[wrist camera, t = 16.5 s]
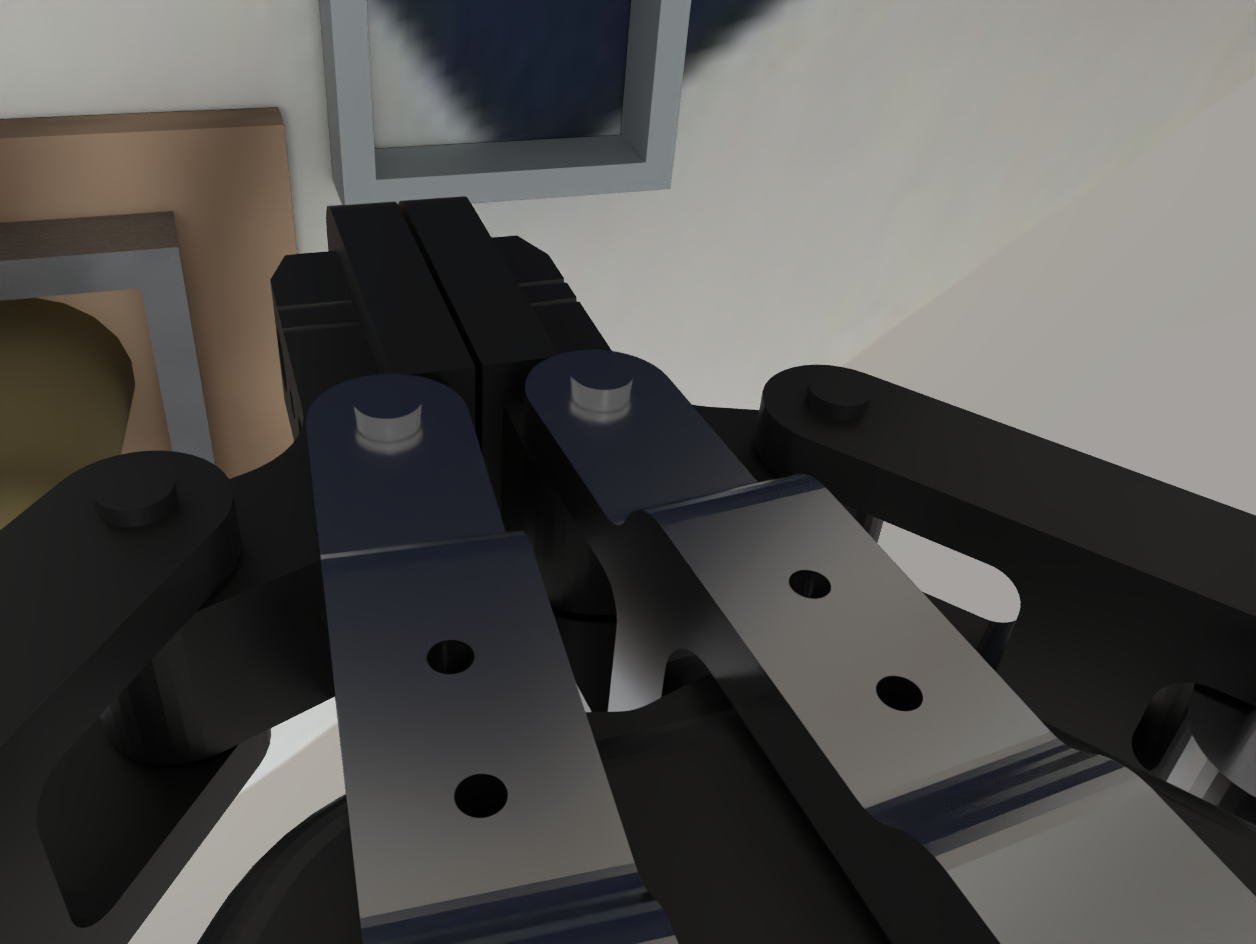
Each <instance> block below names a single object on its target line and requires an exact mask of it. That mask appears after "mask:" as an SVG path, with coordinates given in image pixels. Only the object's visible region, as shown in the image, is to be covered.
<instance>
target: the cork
mask: <svg viewBox="0 0 1256 944" xmlns="http://www.w3.org/2000/svg"><path fill="white" fill-rule="evenodd" d="M134 390H135V379H134V373H133V367H132V361H131V359H130V357H129V356H128V354H127V352H126V351H125V349H124V347H123V345H122V344H121V342H120V340H119V339H118V337H117V336H116V335H115V334H113V333H112V332H111V331H110V330H109V329H108V328H106V327H105V326H104V325H103V324H102V323H101V322H99V321H98V320H97V319H96V318H95V317H93V316H91V315H89V314H86V313H84V312H82V311H80V310H78V309H76V308H74V307H71V306H69V305H67V304H65V303H60V302H55V301H50V300H44V299H39V298H25V299H14V300H3V301H0V530H1V529H2V528H4V527H5V526H6V525H7V524H9V523H10V522H11V521H12V520H13V519H15V518H16V517H17V516H18V515H20V514H21V513H22V512H23V511H25V510H26V509H27V508H28V507H30V506H31V505H32V504H33V503H34V502H36V501H37V500H38V499H39V498H41V497H42V496H43V495H44V494H46V493H47V492H48V491H49V490H51V489H52V488H53V487H54V486H55V485H57V484H58V483H59V482H60V481H62V480H63V479H65V478H66V477H68V476H69V475H70V474H72V473H74V472H75V471H77V470H79V469H81V468H83V467H85V466H87V465H90V464H92V463H94V462H97V461H99V460H102V459H106V458H109V457H113V456H116V455H121V453H122V448H123V443H124V438H125V433H126V428H127V424H128V419H129V414H130V409H131V404H132V399H133V394H134Z"/></svg>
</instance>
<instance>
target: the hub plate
mask: <svg viewBox="0 0 1256 944" xmlns="http://www.w3.org/2000/svg"><path fill="white" fill-rule="evenodd" d="M165 211H174V217H175V223H176V229H177V235H178V241H179V247H180V253H181V259H182V265H183V271H184V277H185V283H186V289H187V295H188V301H189V307H190V313H191V319H192V325H193V330H194V336H195V342H196V348H197V354H198V360H199V366H200V372H201V378H202V384H203V390H204V396H205V402H206V408H207V414H208V420H209V426H210V432H211V438H212V444H213V450H214V456H215V462H216V466H217V467H218V468H220V469H221V470H222V471H223V472H224V473H225V474H226V476H227V477H228V478H229V479H230V478H233V477H236V476H239V475H242V474H244V473H247V472H249V471H252V470H254V469H256V468H259V467H261V466H263V465H265V464H266V463H268V462H270V461H272V460H273V459H275V458H276V457H278V456H279V455H281V454H282V453H283V452H284V451H285V450H286V449H288V448H289V447H290V446H291V445H292V444H293V442H294V439H293V435H292V429H291V426H290V422H289V418H288V413H287V409H286V405H285V400H284V392H283V384H282V375H281V367H280V359H279V350H278V342H277V333H276V325H275V316H274V308H273V300H272V291H271V283H270V279H271V278H272V276H273V274H274V273H275V271H276V269H277V268H278V266H279V264H280V263H281V261H282V259H283V258H284V256H285V255H292V254H297V249H296V239H295V229H294V220H293V210H292V200H291V190H290V180H289V170H288V160H287V150H286V140H285V130H284V124H283V121H282V118H281V115H280V112H279V109H278V107H276V108H253V109H229V110H206V111H183V112H159V113H136V114H112V115H89V116H66V117H42V118H19V119H0V223H5V222H20V221H34V220H49V219H63V218H78V217H92V216H107V215H121V214H136V213H150V212H165ZM36 298H39V299H44V300H50V301H55V302H60V303H65V304H67V305H69V306H71V307H74V308H76V309H78V310H80V311H82V312H84V313H86V314H89V315H91V316H93V317H95V318H96V319H97V320H98V321H99V322H101V323H102V324H103V325H104V326H105V327H106V328H108V329H109V330H110V331H111V332H112V333H113V334H115V335H116V336H117V337H118V339H119V340H120V342H121V344H122V345H123V347H124V349H125V351H126V352H127V354H128V356H129V357H130V359H131V361H132V367H133V373H134V379H135V390H134V394H133V399H132V404H131V409H130V414H129V419H128V424H127V428H126V433H125V438H124V443H123V448H122V453H121V454H126V453H131V452H140V451H172V446H171V441H170V436H169V431H168V426H167V421H166V415H165V410H164V405H163V400H162V395H161V390H160V385H159V379H158V374H157V369H156V364H155V359H154V354H153V348H152V343H151V338H150V333H149V328H148V323H147V318H146V312H145V307H144V302H143V297H142V292H141V288H138V289H126V290H115V291H104V292H93V293H81V294H70V295H59V296H48V297H36Z"/></svg>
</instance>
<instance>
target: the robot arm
mask: <svg viewBox="0 0 1256 944" xmlns="http://www.w3.org/2000/svg"><path fill="white" fill-rule="evenodd" d="M326 223H327V238H328V250H329V251H328V252H316V253H304V254H292V255H285V256H284V258H283V259H282V261H281V263H280V264H279V266H278V268H277V269H276V271H275V273H274V274H273V276H272V278H271V279H270V283H271V291H272V300H273V308H274V316H275V325H276V333H277V342H278V350H279V359H280V367H281V375H282V384H283V392H284V400H285V405H286V409H287V413H288V418H289V422H290V426H291V429H292V435H293V439H294V442H293V444H292V445H291V446H290V447H289V448H288V449H286V450H285V451H284V452H283V453H282V454H281V455H279V456H278V457H276V458H275V459H273V460H272V461H270V462H268V463H266V464H265V465H263V466H261V467H259V468H256V469H254V470H252V471H249V472H247V473H244V474H242V475H239V476H236V477H233V478H230V479H229V478H228V477H227V476H226V474H225V473H224V472H223V471H222V470H221V469H220V468H218V467H217V466H216V465H215V464H213V463H211V462H209V461H207V460H205V459H203V458H200V457H197V456H194V455H191V454H186V453H181V452H174V451H140V452H131V453H126V454H121V455H116V456H113V457H109V458H106V459H102V460H99V461H97V462H94V463H92V464H90V465H87V466H85V467H83V468H81V469H79V470H77V471H75V472H74V473H72V474H70V475H69V476H68V477H66V478H65V479H63V480H62V481H60V482H59V483H58V484H57V485H55V486H54V487H53V488H52V489H51V490H49V491H48V492H47V493H46V494H44V495H43V496H42V497H41V498H39V499H38V500H37V501H36V502H34V503H33V504H32V505H31V506H30V507H28V508H27V509H26V510H25V511H23V512H22V513H21V514H20V515H18V516H17V517H16V518H15V519H13V520H12V521H11V522H10V523H9V524H7V525H6V526H5V527H4V528H2V529H1V530H0V944H128V942H129V941H130V939H131V938H132V936H133V935H134V934H135V933H136V931H137V930H138V929H139V927H140V926H141V925H142V923H143V922H144V921H145V919H146V918H147V916H148V915H149V914H150V912H151V911H152V910H153V908H154V907H155V906H156V904H157V903H158V902H159V900H160V899H161V898H162V896H163V895H164V893H165V892H166V891H167V889H168V888H169V887H170V885H171V884H172V883H173V881H174V880H175V878H176V877H177V876H178V875H179V873H180V872H181V870H182V869H183V868H184V866H185V865H186V863H187V862H188V861H189V860H190V858H191V857H192V855H193V854H194V853H195V851H196V850H197V849H198V847H199V846H200V845H201V843H202V842H203V841H204V839H205V838H206V837H207V835H208V834H209V833H210V831H211V830H212V828H213V827H214V826H215V824H216V823H217V822H218V820H219V819H220V818H221V816H222V815H223V813H224V812H225V811H226V809H227V808H228V807H229V805H230V804H231V803H232V801H233V800H234V799H235V797H236V796H237V795H238V793H239V792H240V791H241V789H242V788H243V787H244V785H245V784H246V782H247V781H248V780H249V778H250V777H251V776H252V774H253V773H254V772H255V770H256V769H257V768H258V766H259V765H260V763H261V762H262V760H263V758H264V757H265V755H266V752H267V750H268V747H269V745H270V738H271V728H272V727H274V726H276V725H278V724H280V723H282V722H284V721H286V720H288V719H290V718H292V717H294V716H296V715H298V714H300V713H302V712H304V711H306V710H308V709H310V708H312V707H314V706H316V705H318V704H321V703H323V702H325V701H327V700H329V699H331V698H333V697H335V701H336V710H337V719H338V728H339V737H340V747H341V756H342V765H343V774H344V783H345V793H346V794H345V795H343V796H341V797H339V798H338V799H336V800H335V801H333V802H331V803H330V804H328V805H326V806H325V807H323V808H322V809H320V810H318V811H317V812H315V813H313V814H312V815H311V816H309V817H308V818H307V819H305V820H304V821H303V822H301V823H300V824H299V825H298V826H297V827H295V828H294V829H292V830H291V831H290V832H288V833H287V834H286V835H285V836H284V837H283V838H282V839H281V840H279V841H278V842H277V843H276V844H275V845H274V846H273V847H272V848H271V849H270V850H269V851H268V852H267V853H266V854H265V855H264V856H263V857H262V858H261V859H260V860H259V861H258V862H257V863H256V864H255V865H254V866H253V867H252V868H251V869H250V870H249V872H248V873H247V874H246V875H245V876H244V877H243V879H242V880H241V881H240V882H239V883H238V885H237V886H236V887H235V888H234V889H233V891H232V892H231V893H230V894H229V896H228V897H227V899H226V900H225V902H224V903H223V904H222V906H221V907H220V909H219V910H218V912H217V913H216V915H215V916H214V918H213V919H212V921H211V922H210V924H209V926H208V927H207V929H206V931H205V932H204V934H203V935H202V937H201V938H200V940H199V941H198V943H197V944H1256V516H1255V515H1253V514H1250V513H1247V512H1244V511H1242V510H1239V509H1236V508H1233V507H1231V506H1228V505H1225V504H1222V503H1220V502H1217V501H1214V500H1211V499H1209V498H1206V497H1203V496H1200V495H1197V494H1195V493H1192V492H1189V491H1186V490H1184V489H1181V488H1178V487H1176V486H1173V485H1170V484H1167V483H1165V482H1162V481H1159V480H1156V479H1154V478H1151V477H1148V476H1145V475H1143V474H1140V473H1137V472H1134V471H1131V470H1129V469H1126V468H1123V467H1121V466H1118V465H1115V464H1112V463H1110V462H1107V461H1104V460H1102V459H1099V458H1096V457H1093V456H1091V455H1088V454H1085V453H1082V452H1079V451H1077V450H1074V449H1071V448H1069V447H1066V446H1063V445H1060V444H1058V443H1055V442H1052V441H1049V440H1046V439H1044V438H1041V437H1038V436H1036V435H1033V434H1030V433H1027V432H1025V431H1022V430H1019V429H1016V428H1014V427H1011V426H1008V425H1005V424H1003V423H1000V422H997V421H994V420H992V419H989V418H986V417H983V416H981V415H978V414H975V413H973V412H970V411H967V410H964V409H962V408H959V407H956V406H953V405H951V404H948V403H945V402H942V401H940V400H937V399H934V398H931V397H929V396H926V395H923V394H920V393H917V392H915V391H912V390H909V389H907V388H904V387H901V386H898V385H895V384H893V383H890V382H887V381H884V380H882V379H879V378H876V377H874V376H871V375H868V374H865V373H862V372H859V371H856V370H853V369H848V368H844V367H838V366H830V365H804V366H798V367H793V368H790V369H786V370H784V371H782V372H779V373H777V374H776V375H774V376H773V377H772V378H770V379H769V381H768V382H767V383H766V384H765V387H764V389H763V393H762V398H761V404H760V410H748V409H733V408H717V407H705V406H696V405H692V404H691V403H690V402H689V401H688V400H687V399H686V397H685V396H684V395H683V394H682V393H681V392H680V390H679V389H678V388H677V387H676V386H675V385H674V383H673V382H672V381H671V380H670V379H669V378H668V376H667V375H666V374H664V373H663V372H662V371H661V370H660V369H659V368H657V367H656V366H654V365H653V364H651V363H649V362H647V361H645V360H643V359H640V358H637V357H635V356H632V355H628V354H624V353H620V352H614V351H612V350H611V349H610V347H609V346H608V344H607V343H606V341H605V340H604V338H603V337H602V335H601V334H600V332H599V331H598V329H597V328H596V326H595V325H594V323H593V322H592V320H591V319H590V317H589V316H588V314H587V313H586V311H585V310H584V308H583V306H582V305H581V303H580V302H577V301H576V296H575V294H574V293H573V291H572V290H571V288H570V287H569V285H568V284H567V283H564V278H563V276H562V275H561V273H560V272H559V270H558V269H557V267H556V266H555V264H554V263H553V261H552V259H551V258H550V256H549V255H548V254H546V253H545V252H543V251H541V250H540V249H538V248H537V247H535V246H533V245H532V244H530V243H528V242H527V241H525V240H523V239H522V238H520V237H518V236H506V237H494V238H491V236H490V235H489V233H488V231H487V230H486V228H485V226H484V224H483V223H482V221H481V219H480V218H479V216H478V214H477V213H476V211H475V209H474V208H473V206H472V204H471V203H470V201H469V199H468V198H467V197H466V196H461V197H447V198H433V199H419V200H405V201H399V203H398V204H397V202H395V201H393V202H379V203H365V204H351V205H337V206H328V207H327V212H326ZM883 521H886V522H888V523H890V524H892V525H895V526H897V527H900V528H902V529H905V530H907V531H910V532H912V533H915V534H917V535H919V536H921V537H924V538H926V539H929V540H931V541H934V542H936V543H938V544H941V545H943V546H946V547H948V548H950V549H953V550H955V551H958V552H960V553H962V554H965V555H967V556H970V557H972V558H975V559H977V560H979V561H982V562H984V563H987V564H989V565H991V566H994V567H995V568H997V569H999V570H1000V571H1001V572H1003V573H1004V574H1005V575H1006V576H1007V577H1009V579H1010V580H1011V581H1012V582H1013V583H1014V585H1015V587H1016V588H1017V590H1018V593H1019V596H1020V601H1021V608H1020V612H1019V615H1018V617H1017V620H1016V621H1013V622H1008V623H1000V622H993V621H989V620H987V619H984V618H982V617H979V616H977V615H975V614H972V613H970V612H967V611H965V610H963V609H961V608H958V607H956V606H954V605H951V604H949V603H947V602H945V601H942V600H940V599H938V598H935V597H933V596H931V595H928V594H926V593H924V592H922V591H921V590H920V589H919V588H918V587H917V586H916V585H915V584H914V583H913V582H912V581H911V579H910V578H909V577H908V576H907V575H906V574H905V573H904V572H903V571H902V570H901V569H900V568H899V567H898V565H897V564H896V563H895V562H894V561H893V560H892V559H891V558H890V557H889V556H888V555H887V554H886V552H885V551H884V550H883V549H882V548H881V547H880V546H879V545H878V544H877V542H878V539H879V535H880V531H881V528H882V524H883Z"/></svg>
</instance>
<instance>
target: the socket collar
mask: <svg viewBox="0 0 1256 944" xmlns="http://www.w3.org/2000/svg"><path fill="white" fill-rule="evenodd" d="M138 288H141V292H142V297H143V302H144V307H145V312H146V318H147V323H148V328H149V333H150V338H151V343H152V348H153V354H154V359H155V364H156V369H157V374H158V379H159V385H160V390H161V395H162V400H163V405H164V410H165V415H166V421H167V426H168V431H169V436H170V441H171V446H172V451H174V452H181V453H186V454H191V455H194V456H197V457H200V458H203V459H205V460H207V461H209V462H211V463H213V464H215V465H216V462H215V456H214V450H213V444H212V438H211V432H210V426H209V420H208V414H207V408H206V402H205V396H204V390H203V384H202V378H201V372H200V366H199V360H198V354H197V348H196V342H195V336H194V330H193V325H192V319H191V313H190V307H189V301H188V295H187V289H186V283H185V277H184V271H183V265H182V259H181V253H180V247H179V241H178V235H177V229H176V223H175V217H174V211H165V212H150V213H136V214H121V215H107V216H92V217H78V218H63V219H49V220H34V221H20V222H5V223H0V301H3V300H14V299H25V298H36V297H48V296H59V295H70V294H81V293H93V292H104V291H115V290H126V289H138Z"/></svg>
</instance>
